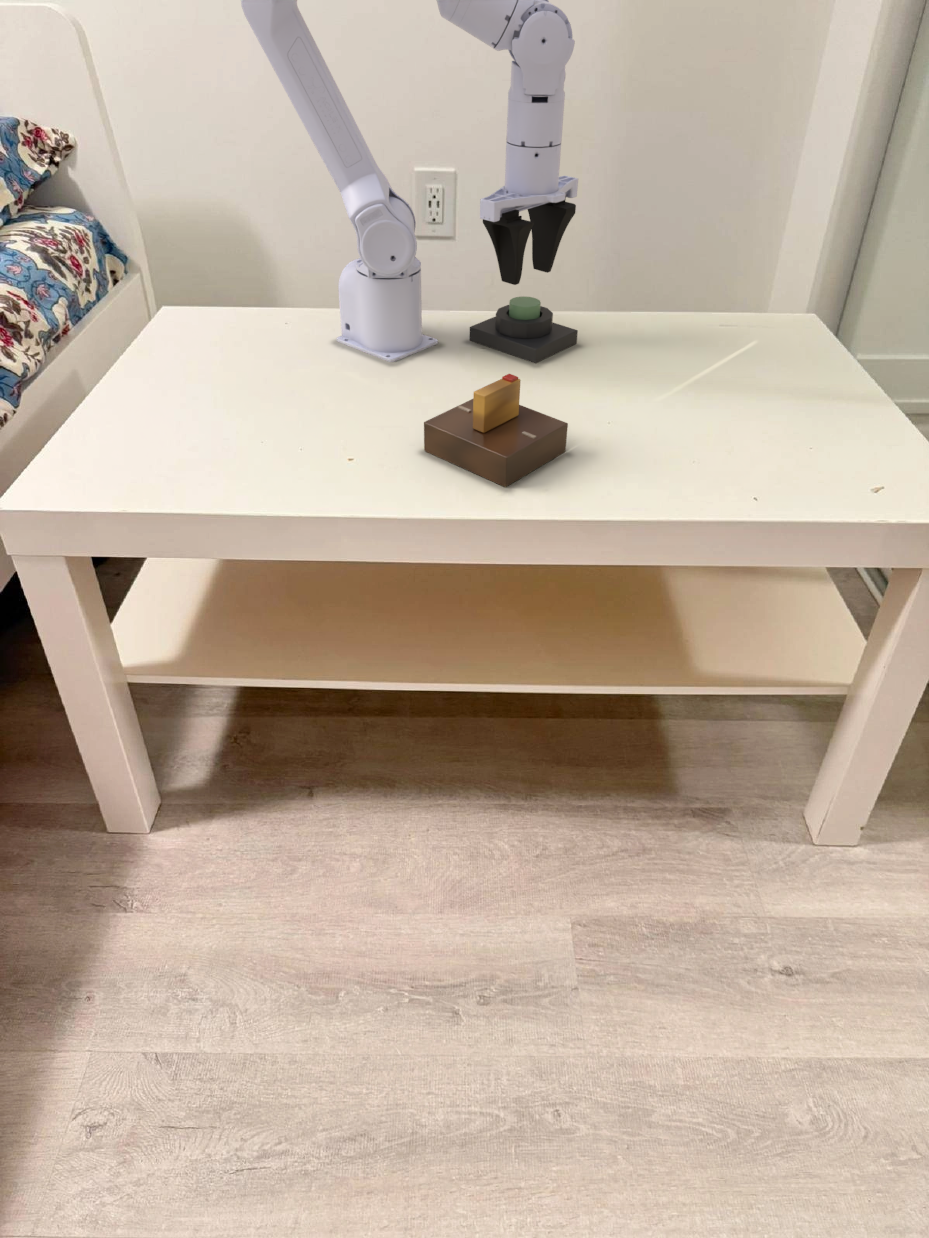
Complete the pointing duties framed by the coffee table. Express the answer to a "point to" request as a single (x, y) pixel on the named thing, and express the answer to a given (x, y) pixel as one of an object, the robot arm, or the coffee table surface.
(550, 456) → the plate
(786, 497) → the coffee table surface
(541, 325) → the push button base
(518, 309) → the button
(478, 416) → the block
